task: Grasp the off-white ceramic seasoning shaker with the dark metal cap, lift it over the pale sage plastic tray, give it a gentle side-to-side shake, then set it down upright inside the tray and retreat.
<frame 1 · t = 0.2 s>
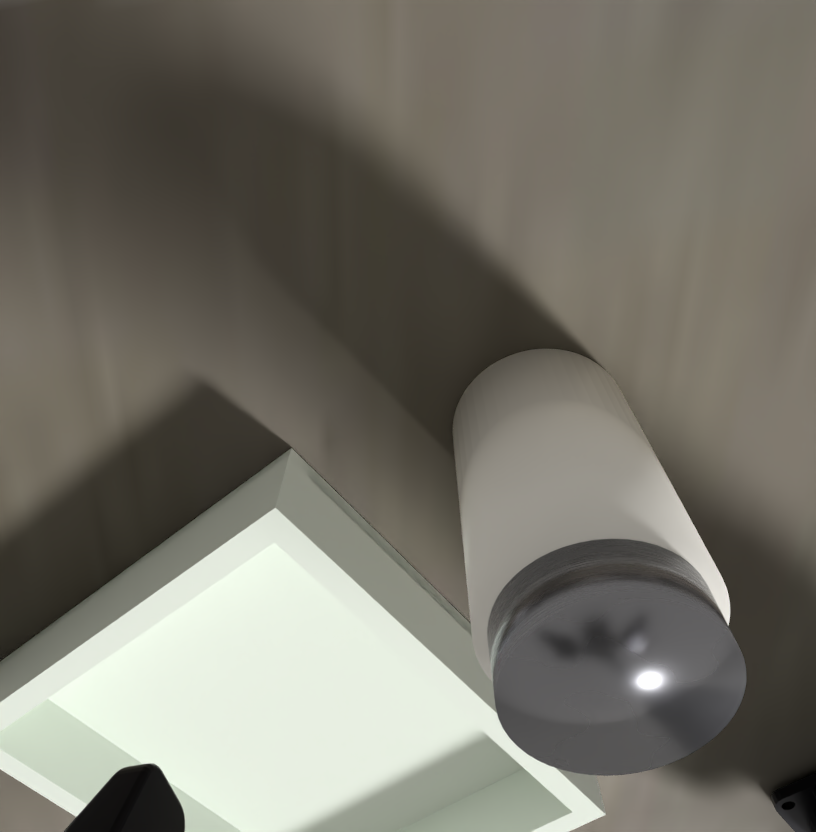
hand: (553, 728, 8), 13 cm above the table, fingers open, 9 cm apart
seasoning shaker: (539, 428, 22), on the table
tray: (300, 702, 27), on the table
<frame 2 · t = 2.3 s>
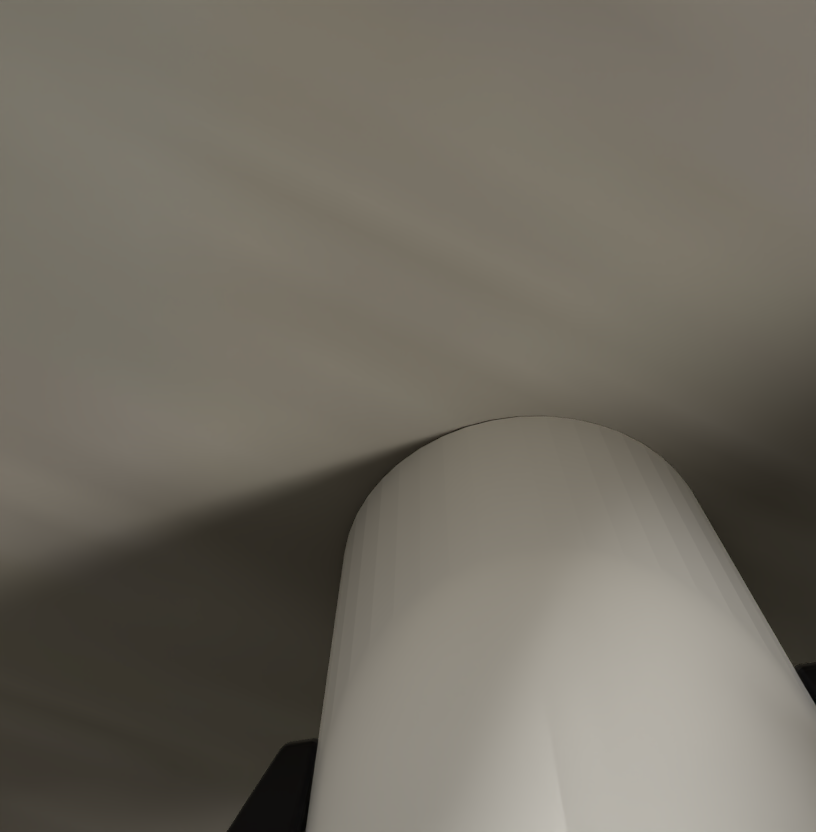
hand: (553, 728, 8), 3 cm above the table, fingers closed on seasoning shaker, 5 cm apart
seasoning shaker: (524, 576, 10), on the table, touching gripper
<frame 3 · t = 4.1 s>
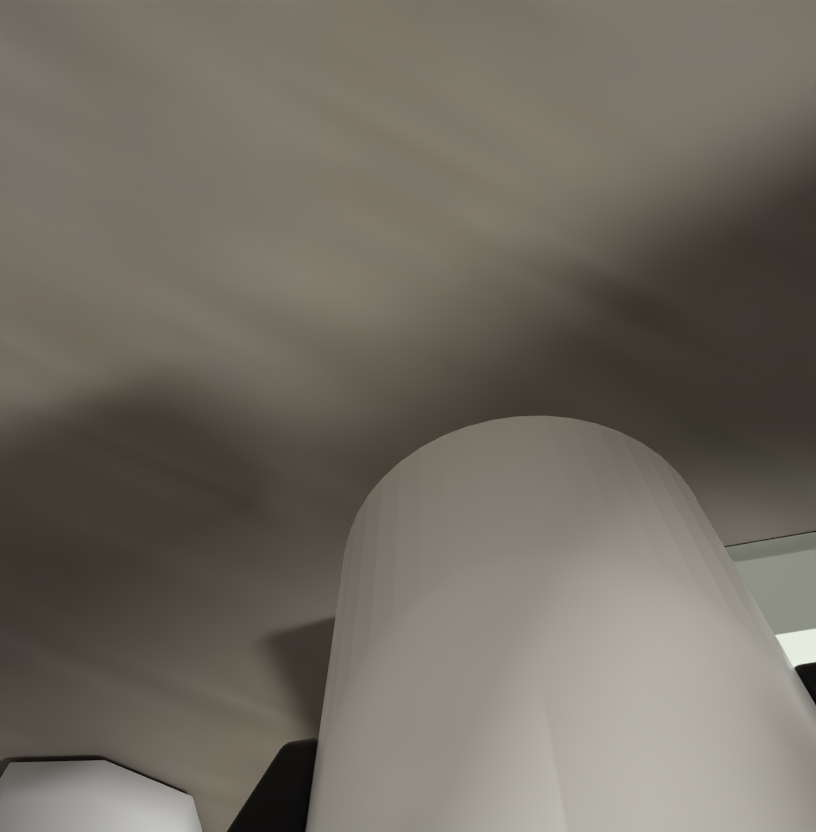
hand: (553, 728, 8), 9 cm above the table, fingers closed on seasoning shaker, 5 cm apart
flask: (101, 820, 24), on the table
seasoning shaker: (524, 576, 11), point 7 cm above the table, touching gripper
tray: (706, 742, 22), on the table
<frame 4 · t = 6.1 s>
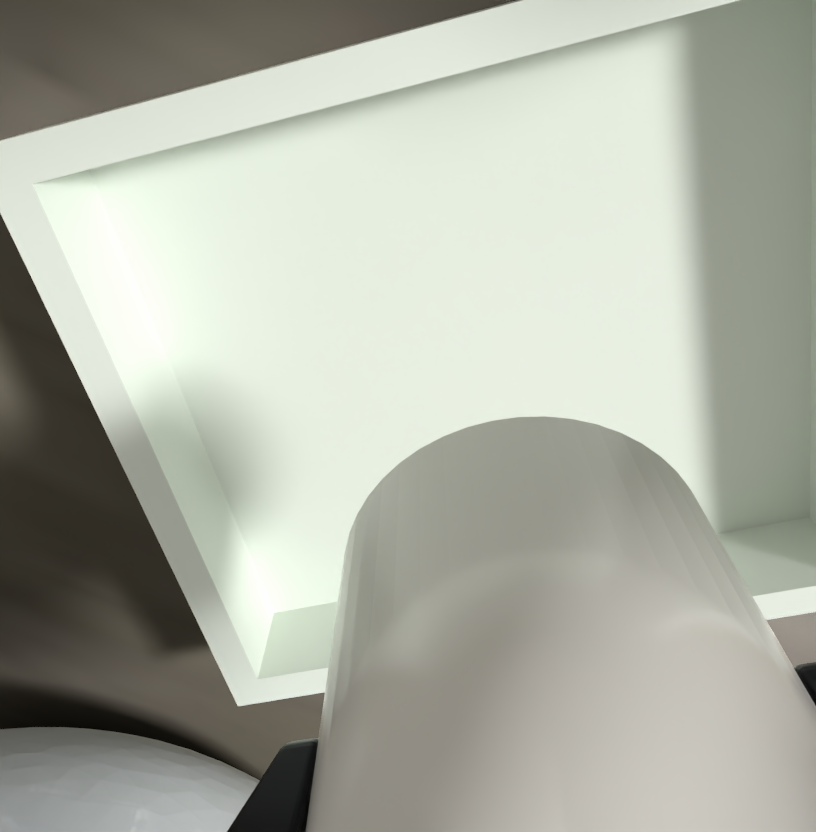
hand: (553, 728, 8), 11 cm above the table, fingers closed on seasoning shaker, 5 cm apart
seasoning shaker: (524, 576, 10), point 8 cm above the table, touching gripper
tray: (485, 348, 18), on the table
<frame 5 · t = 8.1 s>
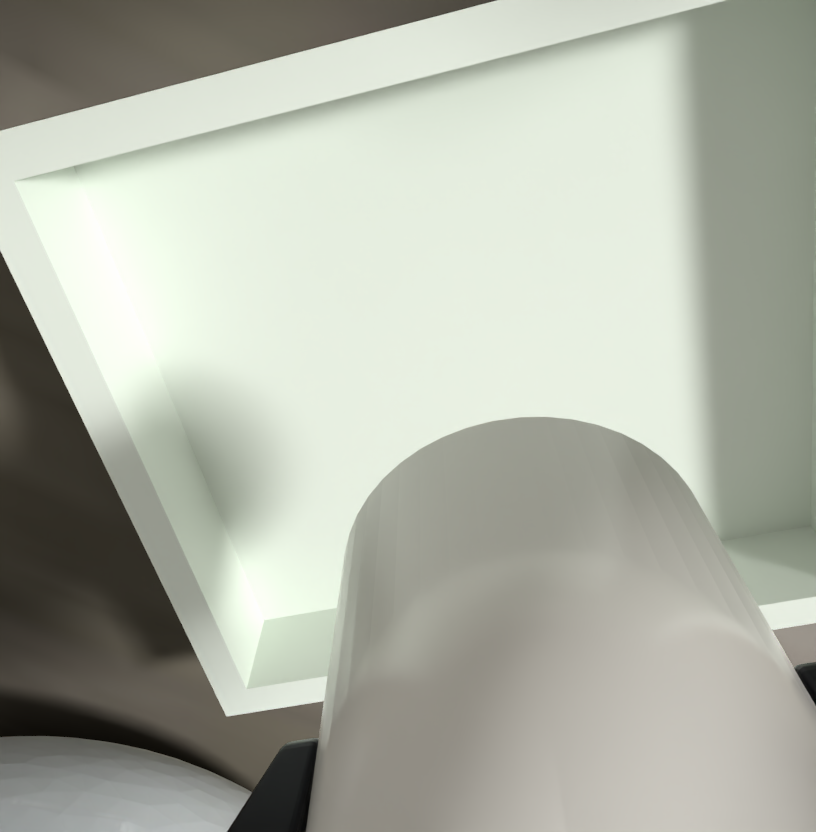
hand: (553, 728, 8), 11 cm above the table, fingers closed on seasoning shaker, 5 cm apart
seasoning shaker: (524, 577, 10), point 8 cm above the table, touching gripper
tray: (480, 352, 18), on the table
when the fingers open (4 cm above the table, at t = 9.9 s): seasoning shaker stays where it is, resting on tray.
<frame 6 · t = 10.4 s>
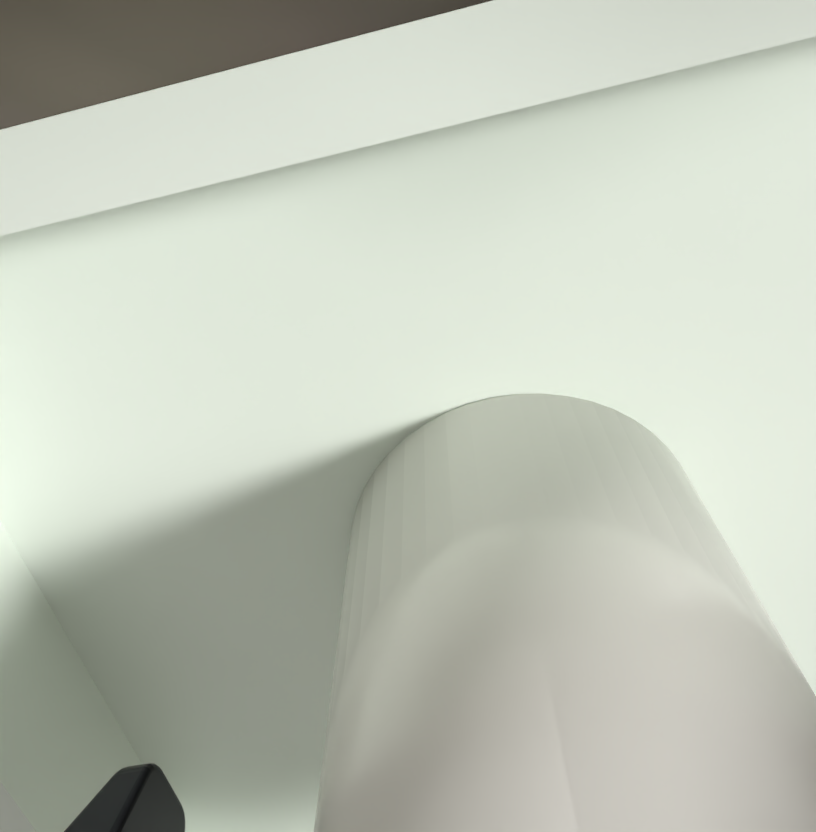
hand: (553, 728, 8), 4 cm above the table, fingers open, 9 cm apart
seasoning shaker: (522, 547, 11), point 1 cm above the table, touching tray
tray: (513, 524, 12), on the table
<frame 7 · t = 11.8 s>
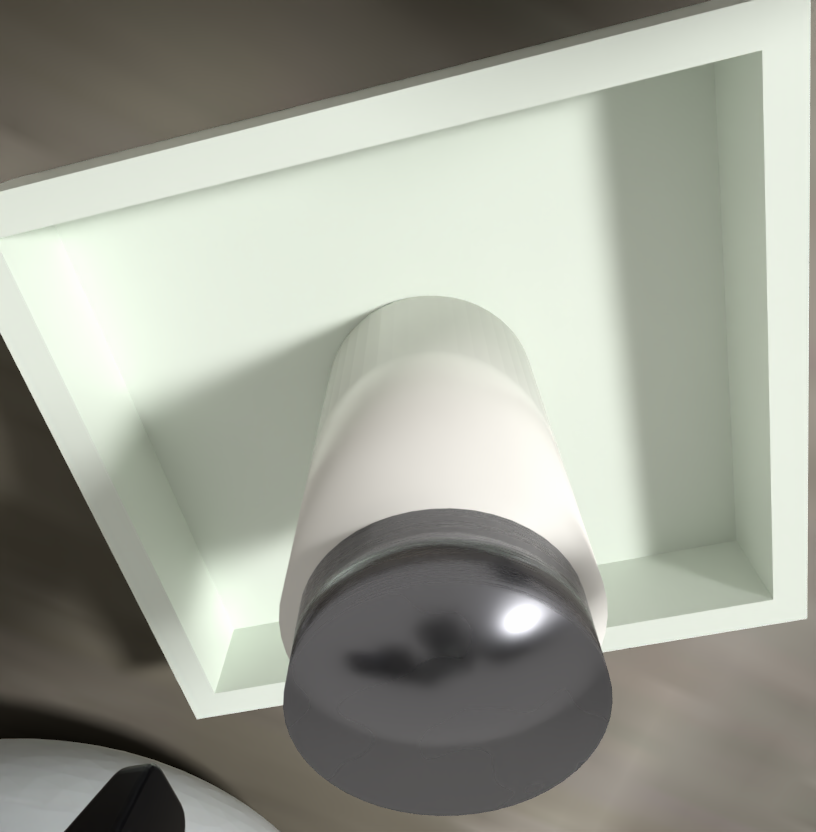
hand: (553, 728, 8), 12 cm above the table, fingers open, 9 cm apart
seasoning shaker: (430, 392, 19), point 1 cm above the table, touching tray
tray: (427, 383, 19), on the table
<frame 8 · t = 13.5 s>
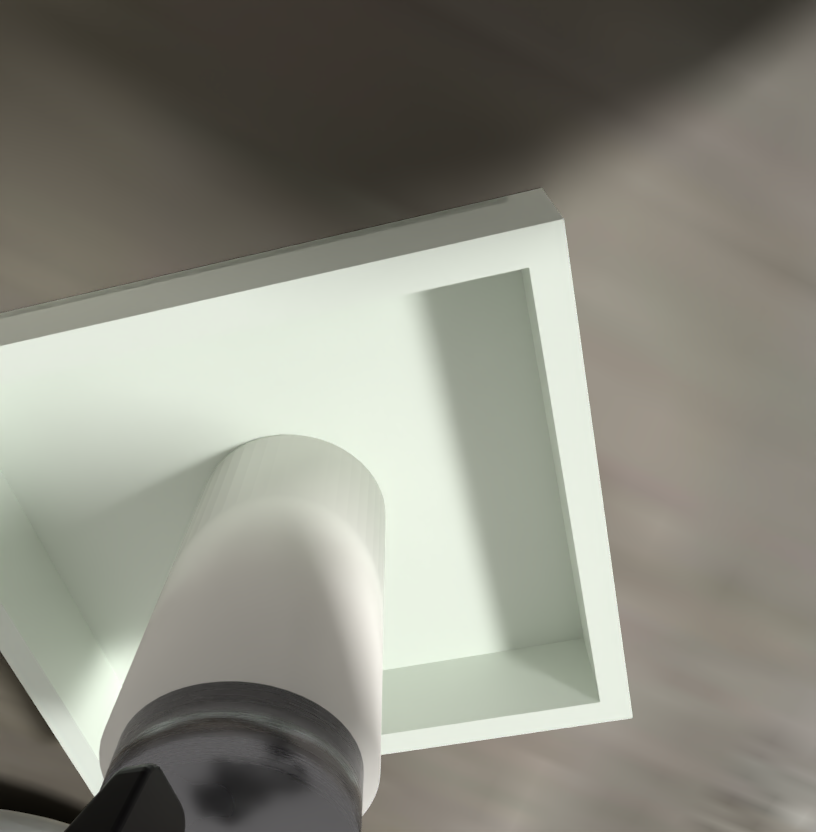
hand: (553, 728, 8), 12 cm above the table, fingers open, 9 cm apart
seasoning shaker: (294, 515, 21), point 1 cm above the table, touching tray
tray: (295, 502, 21), on the table
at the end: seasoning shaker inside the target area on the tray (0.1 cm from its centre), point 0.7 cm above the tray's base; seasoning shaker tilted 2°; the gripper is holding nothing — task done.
